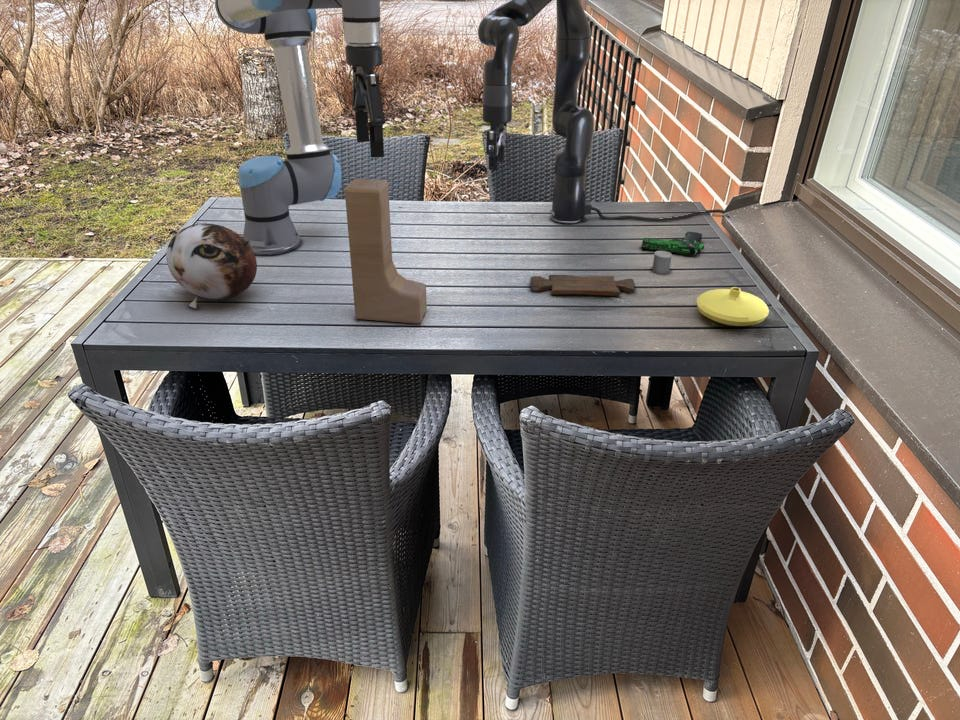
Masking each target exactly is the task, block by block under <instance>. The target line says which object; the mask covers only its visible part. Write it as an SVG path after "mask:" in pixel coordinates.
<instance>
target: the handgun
mask: <svg viewBox="0 0 960 720" xmlns="http://www.w3.org/2000/svg"><path fill="white" fill-rule="evenodd" d="M684 236H685V237H682V238H681V239H680V238H672V239H660V238H651V237H643V238H642V241H641V247H640V248H641V249H642V250H651V251H667V252H670V253H674V254H675V253H676V254H679V255H684V256H690V257H695V256H697V253H701V252H702V251H703V250H704V249H705V245H704V244H703V243H701V242H702V239H703V234H702V233H700V232H697V231H686V233H685V235H684ZM698 242H699V243H698Z"/></svg>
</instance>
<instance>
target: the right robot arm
mask: <svg viewBox="0 0 960 720" xmlns="http://www.w3.org/2000/svg"><path fill="white" fill-rule="evenodd" d="M552 1H553V0H508V1H507V2H505V3H503V4H500V5H499V6H498V7H496V8H494V9H493V10H491V11H489V12H488V13H487V14H486V15H485V16H483V18H482V19H481V21H480V23H479V25H478V29H477V36H478V39H479V41H480V42H481V43H482V44H483V45H484V46H487V47H492V48H495V49H494V54H493V57H488V58H487V59H486V60H485V61H484V64H483V88H482V121H483V122H484V123H486V124H490V126H489V128H488V129H487V131H486V151H485V154H486V155H487V156H488V170H489V171H496V170H497V169H498V162H504V161H505V147H506V143H507V142H508V139H507V133H508V131H507V128H508V127H507V125H508V123H510V122H511V121H512V119H513V87H512V86H513V85H512V79H513V77H512V76H513V75H512V74H513V63H514V60H515V57H516V53H517V49H518V45H519V41H520V29H519V28H520V27H524V26H527V25H528V24H529V23H531V22H532V21H533V20H534V19H535V18H536V17H537V16H538V15H539V14H540V13H541V11H543V10H544V9H545V8H546V7H547V6H548V5H549V4H550V3H551V2H552ZM555 1H556V3H555V5H556V33H555V59H556V60H555V61H556V62H555V90H554V99H553V109H552V127H553V130H554V132H555V133H556V134H557V136H559V137H561V138H565V139H566V140H565V146H564V149H561V150H558V151H557V152H556V154H555V159H554V173H553V174H554V175H553V176H554V177H553V189H552V204H551V209H550V219H551V221H553V222H555V223H557V224H558V223H559V224H564V225H574V224H578V223H581V222H585V216H589V215H591V214H592V211H593V212H596V213H597V215H598V217H599V218H600V219H602V220H609V221H612V220H615V221H616V220H617V221H618V220H637V221H638V220H639V221H648V222H662V221H663V222H664V221H665V222H666V221H672V220H678V219H683V218H688V217H691V216H694V215H704V214H715V213H716V214H717V213H718V214H723V215H724V216H727V215H726V214H724V212H725V211H726V210H724V209H707V210H704V211H706V212H695V211H694V212H695V213H691V212H690V213H691V214H688V215H684V216H678V215H677V216H678V217H674V216H675V215H672V216H671V217H672V218H666V217H667V216H666V217H665V216H664V217H665V218H664V217H662V218H663V219H659V218H660V217H648V216H647V217H646V216H638V215H619V216H606V215H603V214H602V211H601V210H600V209H599V208H597V207H595V206H592V204H591V203H590V202H589V201H588V200H587V189H585V187H586V186H585V185H586V177H587V176H586V175H587V163H588V158H589V156H590V154H591V151H592V143H593V136H594V130H595V129H594V128H595V118H594V115H593V113H592V111H591V110H590V109H588V108H586V107H583V106H579V105H578V86H579V83H580V82H579V81H580V79H581V77H582V75H583V73H584V71H585V69H586V67H587V64H588V62H589V58H590V55H591V39H592V38H591V36H592V35H591V33H592V32H591V31H592V30H591V26H590V22H589V18H588V16H587V14H586V12H585V9H584V7H583V4H582V2H581V0H555ZM492 148H493V149H492Z"/></svg>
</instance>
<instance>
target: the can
mask: <svg viewBox="0 0 960 720" xmlns="http://www.w3.org/2000/svg"><path fill="white" fill-rule="evenodd" d="M672 257H673V254H672V252H667V251H659V250H655V252H654V255H653V261H652V268H651V271H652V272H653V273H655V274H658V275H667V274H669V273H670V269H671V263H672Z"/></svg>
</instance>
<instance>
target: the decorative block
mask: <svg viewBox="0 0 960 720" xmlns="http://www.w3.org/2000/svg"><path fill="white" fill-rule="evenodd" d="M344 198H345V199H344V200H345V209H346V221H347V222H346V223H347V234H348V235H347V236H348V246H349V257H350V266H351V267H350V268H351V270H350V271H351V278H352V279H351V281H352V293H353V306H354V316H355V319H357V320H366V321H367V320H369V321H380V322H391V323H404V324H405V323H406V324H421V322H422V320H423V318H424V316H425V314H426V312H427V309H428V305H427V302H428V301H427V300H428V299H427V285H426V283H424V282H419V281H415V280H411V279H407V278H406V277H404V276H403V275H401V274H400V273H398V270H397V268H396V265H395V263H394V261H393V248H392V231H391V228H392V227H391V211H390V210H391V209H390V192H389V182H388V180H386V179H378V178H377V179H375V178H360V177H359V178H353V179H352V181H351V182H350V183H348V185H346V186H345V188H344Z"/></svg>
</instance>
